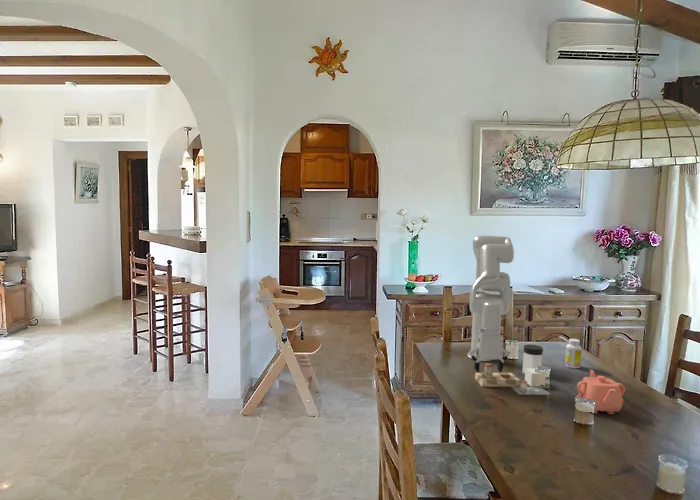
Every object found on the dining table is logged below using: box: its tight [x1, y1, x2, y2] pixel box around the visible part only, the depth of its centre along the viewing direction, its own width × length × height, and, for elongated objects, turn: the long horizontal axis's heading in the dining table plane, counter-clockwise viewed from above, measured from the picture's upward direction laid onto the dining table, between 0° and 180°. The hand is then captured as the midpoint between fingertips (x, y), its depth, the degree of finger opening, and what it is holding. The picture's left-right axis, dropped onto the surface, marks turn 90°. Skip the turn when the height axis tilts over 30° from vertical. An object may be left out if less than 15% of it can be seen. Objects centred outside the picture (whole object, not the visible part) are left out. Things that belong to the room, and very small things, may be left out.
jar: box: [521, 344, 544, 375], centre depth 229 cm, size 9×8×12 cm
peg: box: [484, 363, 494, 378], centre depth 214 cm, size 3×3×8 cm
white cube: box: [524, 369, 540, 387], centre depth 214 cm, size 6×6×6 cm
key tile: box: [510, 379, 552, 396], centre depth 206 cm, size 8×13×4 cm, turn 95°
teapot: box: [576, 369, 626, 415], centre depth 190 cm, size 15×17×13 cm
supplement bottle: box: [564, 338, 583, 369], centre depth 240 cm, size 7×7×13 cm
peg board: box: [474, 372, 521, 388], centre depth 214 cm, size 9×16×3 cm, turn 95°
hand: (488, 371), depth 214 cm, fingers open, 9 cm apart
